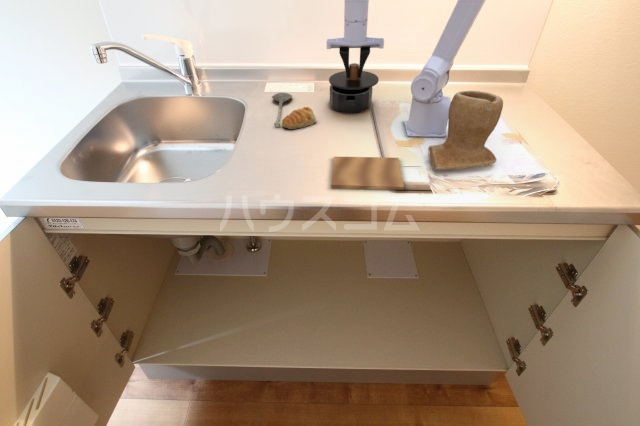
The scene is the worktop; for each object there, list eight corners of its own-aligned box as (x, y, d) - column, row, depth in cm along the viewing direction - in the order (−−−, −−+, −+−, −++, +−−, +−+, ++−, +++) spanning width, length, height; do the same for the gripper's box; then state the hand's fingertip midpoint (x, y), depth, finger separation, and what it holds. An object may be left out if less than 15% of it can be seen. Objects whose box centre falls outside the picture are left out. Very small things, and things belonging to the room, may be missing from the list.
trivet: (398, 161, 74) (398, 157, 73) (403, 190, 66) (404, 186, 65) (333, 160, 75) (333, 156, 75) (331, 188, 67) (331, 184, 66)
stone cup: (475, 143, 79) (495, 81, 69) (500, 170, 70) (528, 104, 60) (415, 148, 78) (428, 87, 68) (434, 176, 69) (451, 110, 59)
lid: (377, 74, 92) (378, 56, 89) (379, 92, 82) (381, 73, 79) (330, 74, 94) (330, 57, 91) (327, 92, 84) (326, 73, 81)
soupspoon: (293, 98, 105) (274, 99, 105) (292, 87, 103) (272, 89, 103) (288, 126, 88) (265, 128, 88) (287, 115, 86) (263, 117, 86)
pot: (369, 93, 104) (371, 76, 101) (371, 117, 91) (373, 99, 87) (331, 93, 105) (331, 76, 102) (328, 117, 92) (327, 99, 88)
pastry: (290, 133, 85) (289, 120, 83) (277, 125, 89) (275, 112, 87) (318, 122, 90) (317, 109, 87) (303, 115, 94) (302, 102, 91)
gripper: (384, 15, 80) (379, 71, 89) (327, 16, 81) (328, 71, 91) (386, 21, 75) (381, 80, 84) (325, 23, 76) (326, 80, 85)
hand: (353, 76), depth 87 cm, fingers closed on lid, 2 cm apart
